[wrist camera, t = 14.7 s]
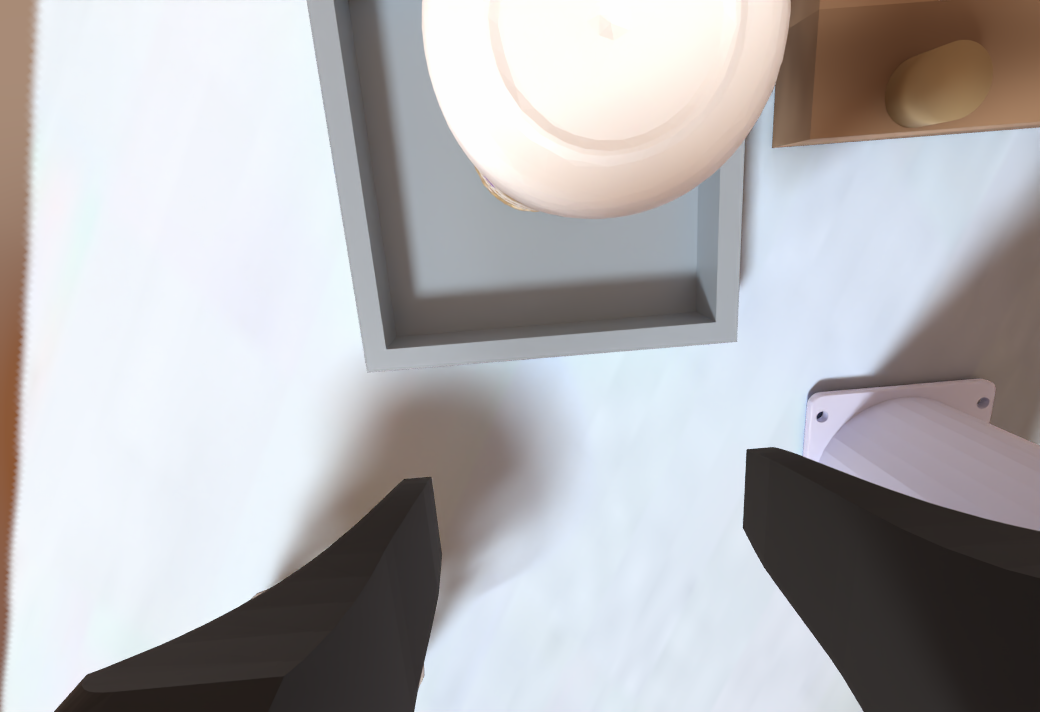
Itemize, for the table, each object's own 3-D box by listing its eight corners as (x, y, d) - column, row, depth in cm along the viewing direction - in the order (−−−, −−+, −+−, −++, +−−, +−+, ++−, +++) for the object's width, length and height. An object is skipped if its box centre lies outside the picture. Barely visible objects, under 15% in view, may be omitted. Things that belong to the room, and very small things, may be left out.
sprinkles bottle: (446, 142, 19) (328, -10, 6) (541, 49, 18) (649, -354, 5) (529, 239, 20) (585, 293, 7) (622, 155, 19) (880, 40, 6)
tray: (710, 327, 22) (737, 341, 19) (382, 354, 21) (367, 372, 19) (720, -59, 18) (754, -101, 15) (323, -31, 18) (295, -69, 15)
